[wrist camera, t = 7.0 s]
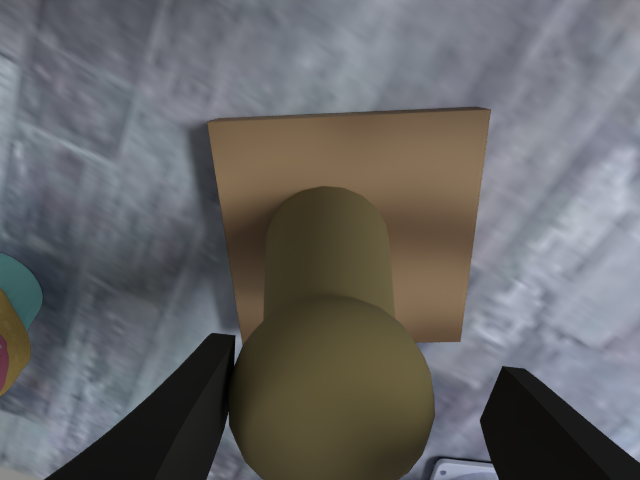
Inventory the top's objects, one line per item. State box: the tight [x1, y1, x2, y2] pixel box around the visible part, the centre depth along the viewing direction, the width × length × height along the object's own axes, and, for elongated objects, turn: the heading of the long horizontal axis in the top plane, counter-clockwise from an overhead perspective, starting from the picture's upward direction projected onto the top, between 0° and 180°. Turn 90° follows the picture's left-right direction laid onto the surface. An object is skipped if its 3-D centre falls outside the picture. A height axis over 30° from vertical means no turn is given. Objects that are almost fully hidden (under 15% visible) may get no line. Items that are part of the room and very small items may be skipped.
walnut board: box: [207, 107, 491, 344], centre depth 19 cm, size 12×12×2 cm
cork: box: [229, 186, 435, 480], centre depth 13 cm, size 6×6×11 cm
